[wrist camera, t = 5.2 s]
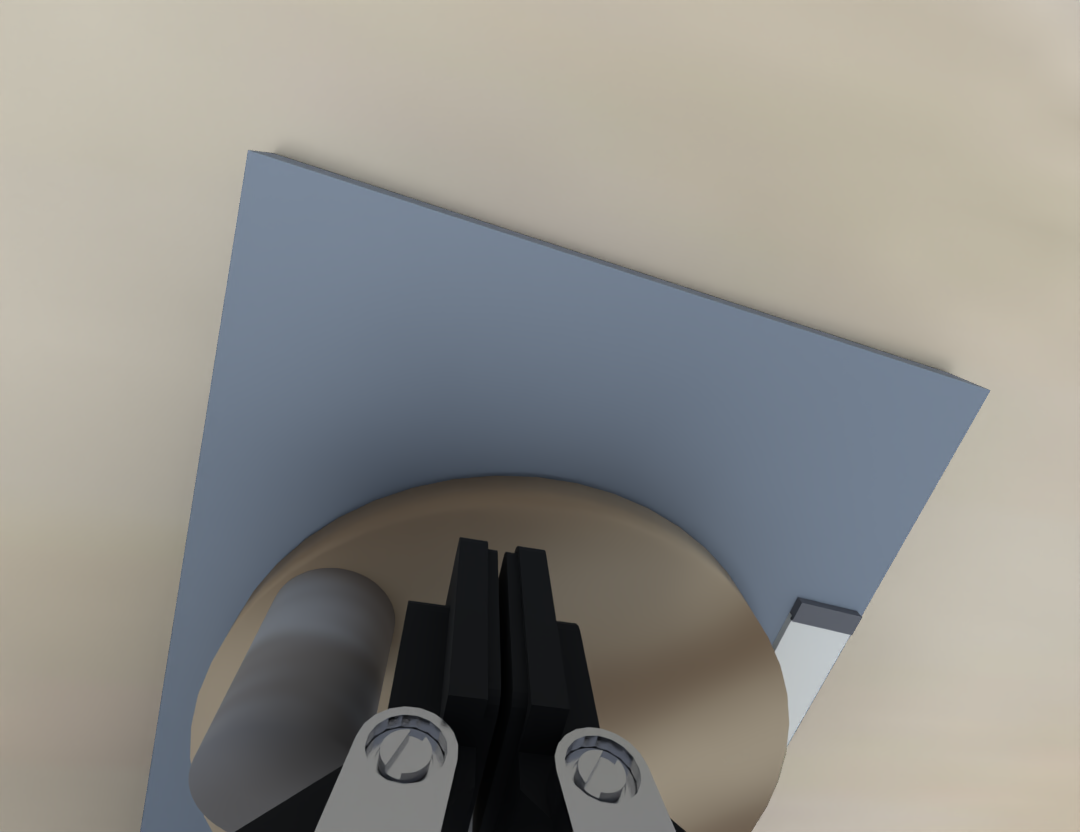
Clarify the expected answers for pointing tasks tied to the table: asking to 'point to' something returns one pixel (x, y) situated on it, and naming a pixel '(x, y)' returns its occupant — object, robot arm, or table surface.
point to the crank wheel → (579, 597)
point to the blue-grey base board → (532, 418)
